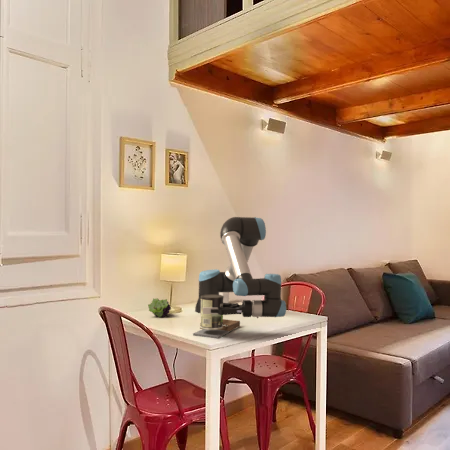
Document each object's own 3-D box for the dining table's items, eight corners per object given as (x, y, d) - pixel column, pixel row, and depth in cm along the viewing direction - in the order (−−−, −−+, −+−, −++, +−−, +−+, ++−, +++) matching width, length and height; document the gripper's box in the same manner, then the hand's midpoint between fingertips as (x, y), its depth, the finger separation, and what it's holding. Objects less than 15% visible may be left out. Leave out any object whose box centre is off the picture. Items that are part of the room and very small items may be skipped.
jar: (219, 304, 280) (220, 285, 280) (212, 302, 286) (213, 283, 286) (231, 303, 285) (232, 284, 285) (224, 301, 291) (225, 282, 291)
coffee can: (223, 325, 207) (223, 294, 207) (222, 330, 197) (223, 297, 197) (200, 324, 207) (201, 293, 207) (199, 329, 197) (199, 297, 197)
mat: (193, 335, 199) (193, 333, 199) (205, 329, 210) (205, 328, 210) (217, 338, 194) (217, 336, 194) (228, 332, 205) (228, 331, 205)
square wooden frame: (199, 328, 212) (200, 323, 212) (213, 323, 225) (213, 318, 225) (227, 332, 206) (228, 326, 206) (239, 326, 219) (239, 321, 219)
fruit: (171, 320, 244) (160, 318, 230) (154, 315, 247) (142, 313, 234) (177, 302, 246) (166, 299, 232) (160, 297, 249) (148, 294, 236)
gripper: (255, 322, 193) (203, 322, 190) (247, 312, 215) (200, 312, 213) (255, 304, 193) (203, 304, 190) (247, 296, 215) (201, 296, 213)
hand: (202, 308), depth 202 cm, fingers closed on coffee can, 10 cm apart
